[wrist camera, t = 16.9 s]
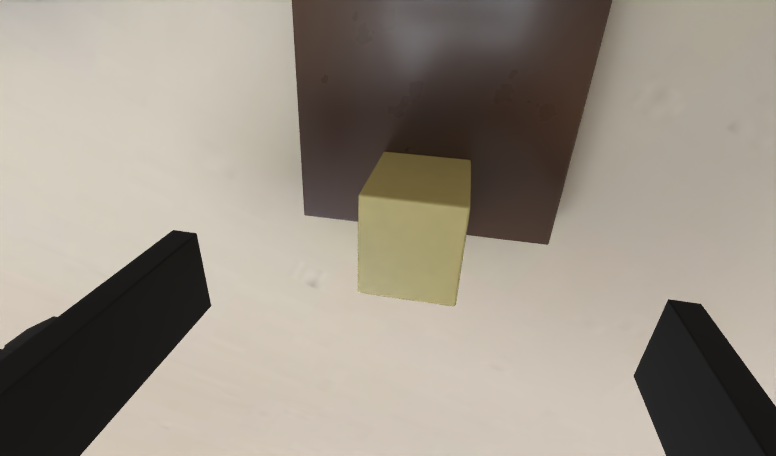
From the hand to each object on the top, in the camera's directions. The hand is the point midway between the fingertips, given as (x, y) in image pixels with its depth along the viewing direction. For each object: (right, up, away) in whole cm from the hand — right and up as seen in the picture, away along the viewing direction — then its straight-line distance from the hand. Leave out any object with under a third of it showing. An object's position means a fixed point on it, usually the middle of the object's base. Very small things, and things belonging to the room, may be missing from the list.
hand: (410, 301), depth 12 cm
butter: (+1, +3, +6) cm, 7 cm away
